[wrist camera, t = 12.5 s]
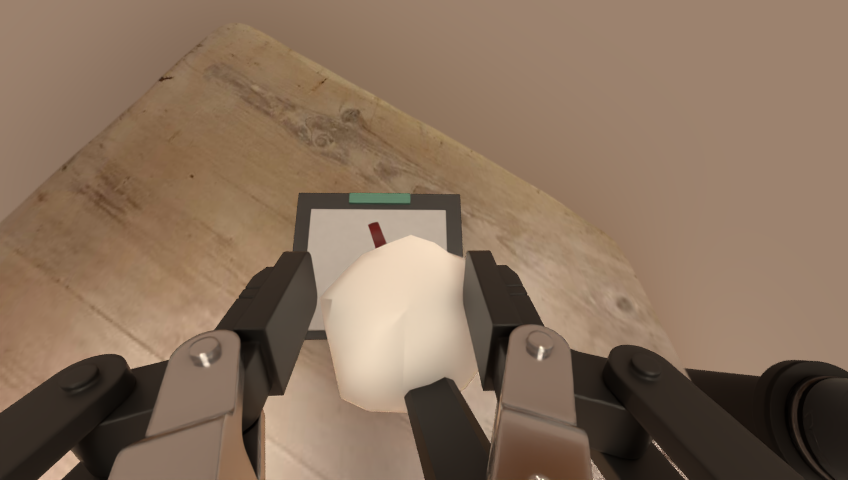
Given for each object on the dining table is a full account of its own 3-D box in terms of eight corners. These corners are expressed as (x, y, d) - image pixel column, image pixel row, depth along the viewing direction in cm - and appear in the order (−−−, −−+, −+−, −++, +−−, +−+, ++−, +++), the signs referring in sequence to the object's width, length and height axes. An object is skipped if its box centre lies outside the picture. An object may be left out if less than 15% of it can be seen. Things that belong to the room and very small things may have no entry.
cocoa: (354, 240, 18) (254, 55, 6) (469, 246, 18) (574, 75, 6) (333, 438, 15) (80, 755, 3) (470, 443, 15) (657, 760, 4)
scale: (456, 204, 33) (461, 190, 30) (461, 337, 30) (468, 337, 27) (306, 203, 33) (295, 189, 30) (293, 339, 29) (279, 339, 26)
